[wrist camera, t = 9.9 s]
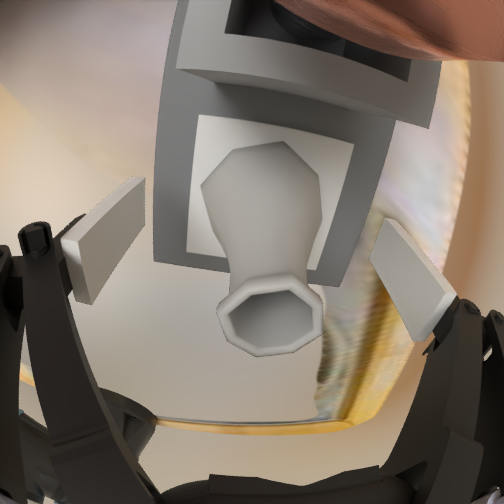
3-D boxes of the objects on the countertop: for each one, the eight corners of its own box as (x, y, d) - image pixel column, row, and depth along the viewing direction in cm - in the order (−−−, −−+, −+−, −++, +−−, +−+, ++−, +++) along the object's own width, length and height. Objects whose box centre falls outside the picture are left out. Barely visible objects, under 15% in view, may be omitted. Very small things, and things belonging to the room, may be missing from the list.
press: (333, 271, 22) (368, 373, 14) (161, 247, 21) (114, 345, 13) (401, 8, 11) (495, -21, 2) (198, -37, 10) (156, -116, 1)
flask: (290, 119, 14) (348, 156, 5) (338, 222, 17) (402, 343, 9) (180, 179, 16) (104, 284, 7) (241, 267, 19) (232, 401, 11)
